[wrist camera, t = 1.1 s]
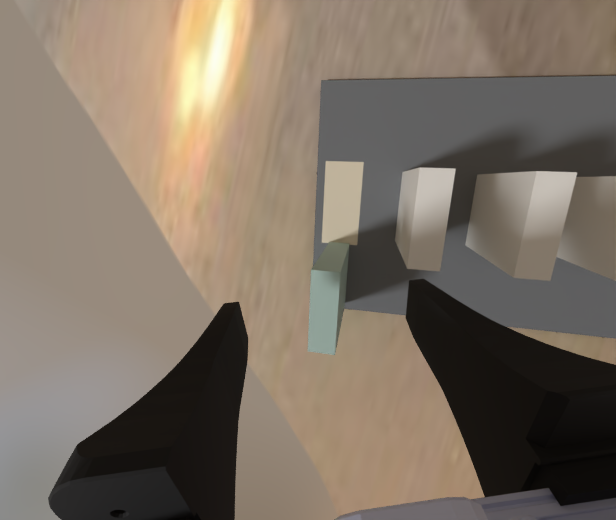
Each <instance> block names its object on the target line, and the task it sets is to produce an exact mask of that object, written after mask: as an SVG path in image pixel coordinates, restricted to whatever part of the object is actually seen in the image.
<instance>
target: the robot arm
mask: <svg viewBox="0 0 616 520" xmlns="http://www.w3.org/2000/svg"><path fill="white" fill-rule="evenodd" d="M406 320H407V322H408V325H409V328H410V330H411V333H412V335H413V337H414V339H415V341H416V343H417V345H418V347H419V349H420V350H421V352H422V354H423V356H424V358H425V359H426V361H427V363H428V365H429V366H430V368H431V370H432V372H433V373H434V375H435V377H436V379H437V381H438V382H439V384H440V386H441V388H442V390H443V392H444V394H445V396H446V399H447V401H448V403H449V406H450V408H451V410H452V412H453V415H454V417H455V420H456V422H457V424H458V427H459V429H460V432H461V434H462V437H463V439H464V442H465V444H466V447H467V449H468V452H469V455H470V457H471V460H472V462H473V465H474V468H475V470H476V473H477V476H478V479H479V482H480V485H481V487H482V490H483V493H484V496H485V497H484V498H477V499H471V500H470V499H468V498H465V497H447V498H440V499H433V500H427V501H420V502H413V503H407V504H400V505H393V506H386V507H380V508H373V509H366V510H359V511H356V512H352V513H348V514H345V515H341V516H339V517H338V518H336V519H335V520H616V365H614V364H610V363H606V362H602V361H599V360H595V359H591V358H588V357H584V356H581V355H578V354H575V353H572V352H569V351H565V350H562V349H559V348H557V347H554V346H551V345H548V344H545V343H543V342H540V341H538V340H535V339H533V338H530V337H528V336H525V335H523V334H520V333H518V332H516V331H514V330H512V329H509V328H507V327H505V326H503V325H501V324H499V323H497V322H495V321H493V320H491V319H489V318H487V317H485V316H484V315H482V314H480V313H478V312H476V311H474V310H473V309H471V308H469V307H468V306H466V305H464V304H463V303H461V302H459V301H458V300H456V299H455V298H453V297H452V296H450V295H448V294H447V293H445V292H444V291H442V290H441V289H439V288H438V287H436V286H435V285H433V284H431V283H430V282H428V281H427V280H425V279H415V280H409V286H408V297H407V308H406ZM247 358H248V336H247V332H246V328H245V324H244V320H243V316H242V312H241V308H240V304H239V302H233V303H225V304H223V306H222V307H221V308H220V310H219V311H218V313H217V314H216V316H215V317H214V319H213V320H212V321H211V323H210V325H209V326H208V327H207V329H206V330H205V331H204V333H203V334H202V335H201V337H200V338H199V339H198V341H197V342H196V343H195V344H194V345H193V347H192V348H191V349H190V351H189V352H188V353H187V354H186V355H185V356H184V358H183V359H182V360H181V361H180V362H179V363H178V364H177V365H176V366H175V368H174V369H173V370H172V371H170V372H169V373H168V374H167V375H166V377H165V378H163V379H162V380H161V381H160V382H159V383H158V384H157V385H156V386H154V387H153V388H152V389H151V390H150V391H149V392H148V393H147V394H146V395H144V396H143V397H142V398H141V399H140V400H139V401H137V402H136V403H135V404H133V405H132V406H131V407H130V408H128V409H127V410H126V411H124V412H123V413H122V414H121V415H119V416H118V417H117V418H115V419H114V420H112V421H111V422H110V423H109V424H107V425H105V426H104V427H102V428H101V429H100V430H98V431H97V432H95V433H94V434H92V435H91V436H89V437H88V438H86V439H85V440H83V441H82V442H80V443H79V444H78V445H77V446H76V448H75V450H74V451H73V453H72V455H71V456H70V458H69V460H68V462H67V464H66V466H65V467H64V469H63V471H62V473H61V475H60V477H59V478H58V480H57V482H56V484H55V486H54V488H53V490H52V492H51V494H50V496H49V498H48V499H49V505H50V508H51V509H52V510H53V512H54V513H55V514H56V515H57V516H58V517H59V518H60V519H62V520H234V518H235V517H234V516H235V476H236V453H237V434H238V419H239V411H240V404H241V398H242V392H243V386H244V379H245V372H246V366H247Z"/></svg>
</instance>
